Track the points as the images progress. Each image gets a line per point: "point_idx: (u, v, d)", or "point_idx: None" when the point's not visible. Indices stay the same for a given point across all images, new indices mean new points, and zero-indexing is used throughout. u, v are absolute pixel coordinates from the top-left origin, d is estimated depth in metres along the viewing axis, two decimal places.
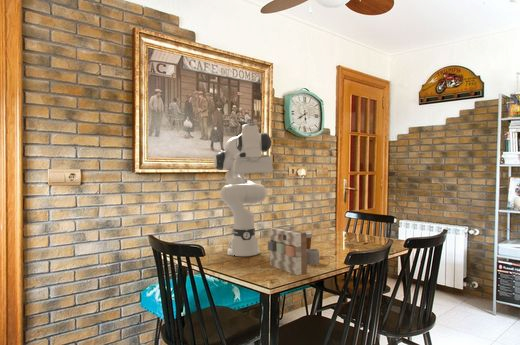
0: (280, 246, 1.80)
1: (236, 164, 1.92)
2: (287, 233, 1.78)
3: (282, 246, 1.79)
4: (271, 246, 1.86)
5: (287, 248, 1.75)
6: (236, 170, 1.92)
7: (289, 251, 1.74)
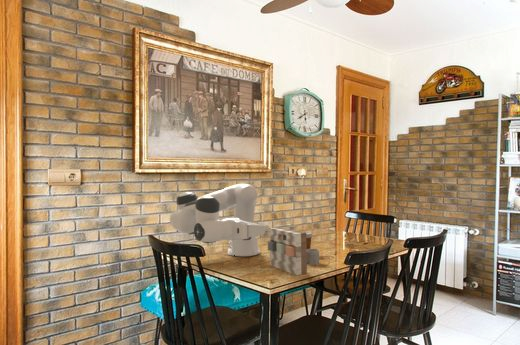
0: (280, 246, 1.80)
1: (255, 224, 1.56)
2: (287, 233, 1.78)
3: (282, 246, 1.79)
4: (271, 246, 1.86)
5: (287, 248, 1.75)
6: (261, 225, 1.57)
7: (289, 251, 1.74)
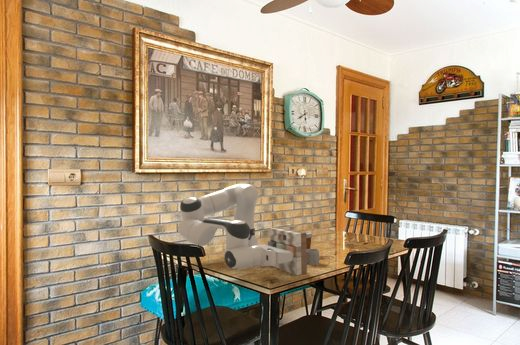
0: (280, 246, 1.80)
1: (283, 252, 1.62)
2: (287, 233, 1.78)
3: (282, 246, 1.79)
4: None
5: (288, 248, 1.75)
6: (289, 252, 1.64)
7: None
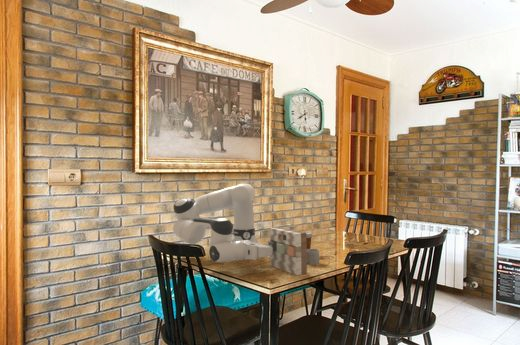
0: (280, 246, 1.80)
1: (264, 246, 1.75)
2: (287, 233, 1.78)
3: (282, 246, 1.79)
4: None
5: (289, 248, 1.76)
6: (269, 247, 1.76)
7: (291, 251, 1.74)
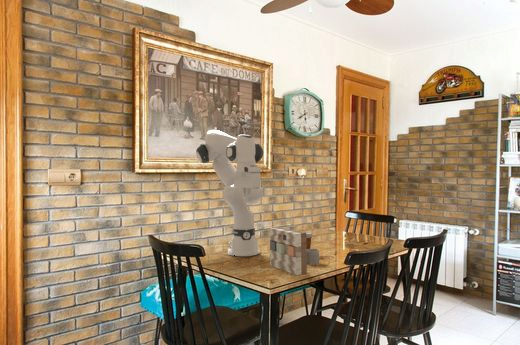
0: (280, 246, 1.80)
1: None
2: (287, 233, 1.78)
3: (282, 246, 1.79)
4: (273, 246, 1.87)
5: (289, 248, 1.76)
6: None
7: (291, 251, 1.74)
